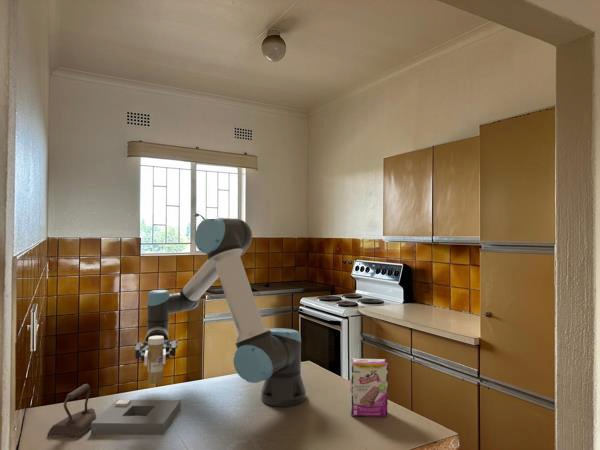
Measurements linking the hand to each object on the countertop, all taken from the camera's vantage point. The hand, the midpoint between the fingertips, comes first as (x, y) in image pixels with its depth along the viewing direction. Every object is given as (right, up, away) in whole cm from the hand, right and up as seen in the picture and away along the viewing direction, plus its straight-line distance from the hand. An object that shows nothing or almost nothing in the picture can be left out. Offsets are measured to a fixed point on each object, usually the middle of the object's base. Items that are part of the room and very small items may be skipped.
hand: (155, 360), depth 117 cm
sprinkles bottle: (-2, -8, +5) cm, 10 cm away
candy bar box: (+63, -19, +8) cm, 67 cm away
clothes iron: (-22, -19, -1) cm, 29 cm away
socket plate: (-6, -19, +2) cm, 20 cm away
